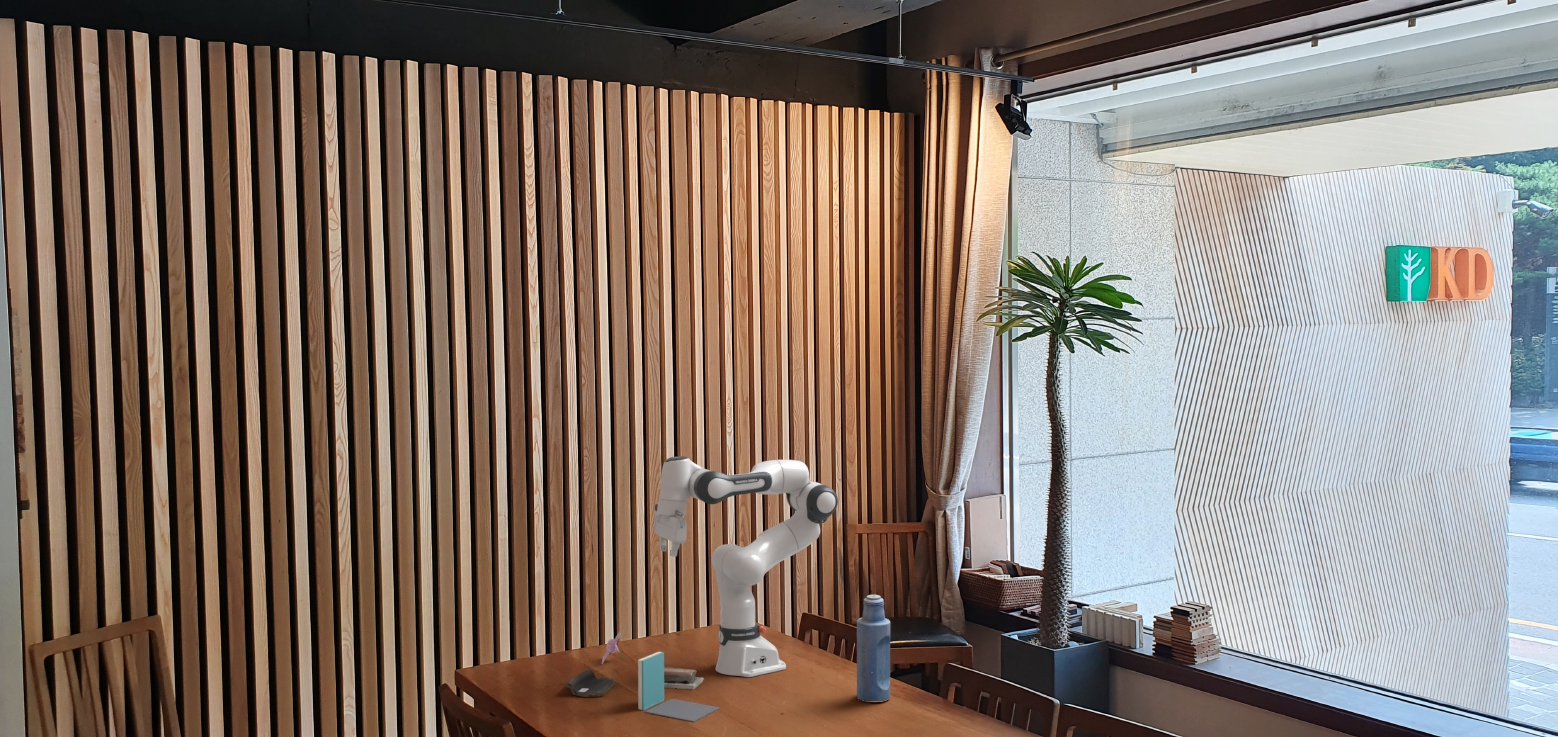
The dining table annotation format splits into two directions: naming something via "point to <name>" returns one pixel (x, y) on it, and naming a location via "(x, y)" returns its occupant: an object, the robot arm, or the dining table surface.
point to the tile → (650, 680)
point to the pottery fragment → (589, 684)
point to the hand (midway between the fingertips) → (668, 553)
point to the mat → (682, 710)
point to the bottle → (873, 651)
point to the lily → (612, 647)
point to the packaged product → (681, 678)
